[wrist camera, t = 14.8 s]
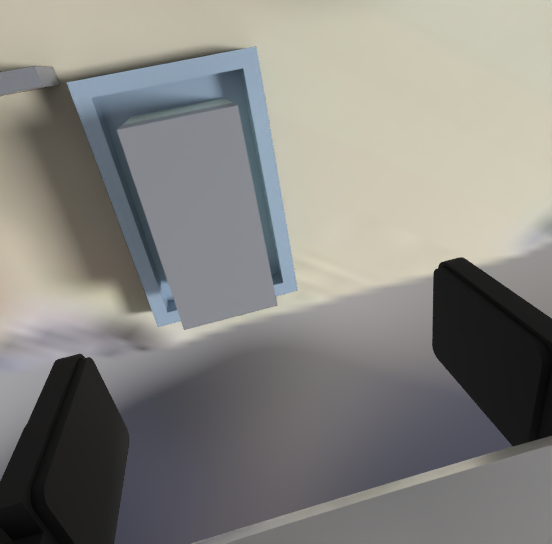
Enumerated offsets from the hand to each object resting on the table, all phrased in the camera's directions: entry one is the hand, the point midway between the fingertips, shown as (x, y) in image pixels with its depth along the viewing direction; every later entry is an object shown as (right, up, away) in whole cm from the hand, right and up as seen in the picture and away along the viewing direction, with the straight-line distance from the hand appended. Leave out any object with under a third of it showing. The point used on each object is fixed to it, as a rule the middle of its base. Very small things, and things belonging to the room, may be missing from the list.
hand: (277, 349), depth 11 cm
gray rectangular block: (-5, +7, +18) cm, 20 cm away
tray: (-6, +8, +19) cm, 21 cm away
